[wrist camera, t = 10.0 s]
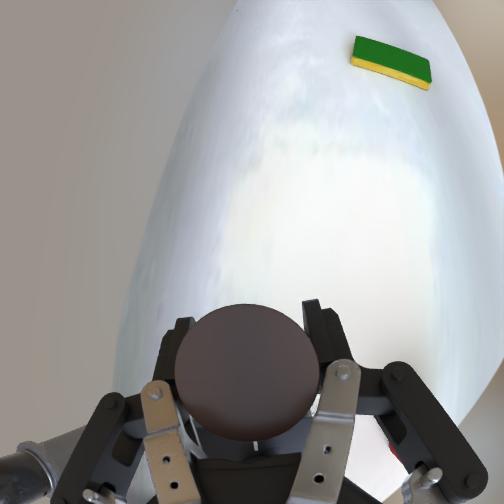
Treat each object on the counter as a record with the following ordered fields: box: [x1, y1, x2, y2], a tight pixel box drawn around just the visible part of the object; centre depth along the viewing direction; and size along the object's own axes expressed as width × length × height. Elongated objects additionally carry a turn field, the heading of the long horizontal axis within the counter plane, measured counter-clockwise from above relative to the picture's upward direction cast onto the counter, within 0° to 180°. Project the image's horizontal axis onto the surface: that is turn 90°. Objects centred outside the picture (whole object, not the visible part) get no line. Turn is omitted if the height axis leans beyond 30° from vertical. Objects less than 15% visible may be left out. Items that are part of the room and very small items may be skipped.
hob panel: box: [193, 410, 313, 463], centre depth 26 cm, size 14×10×3 cm
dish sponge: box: [351, 36, 432, 90], centre depth 37 cm, size 7×14×2 cm, turn 72°
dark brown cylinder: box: [174, 304, 320, 442], centre depth 13 cm, size 5×5×9 cm
